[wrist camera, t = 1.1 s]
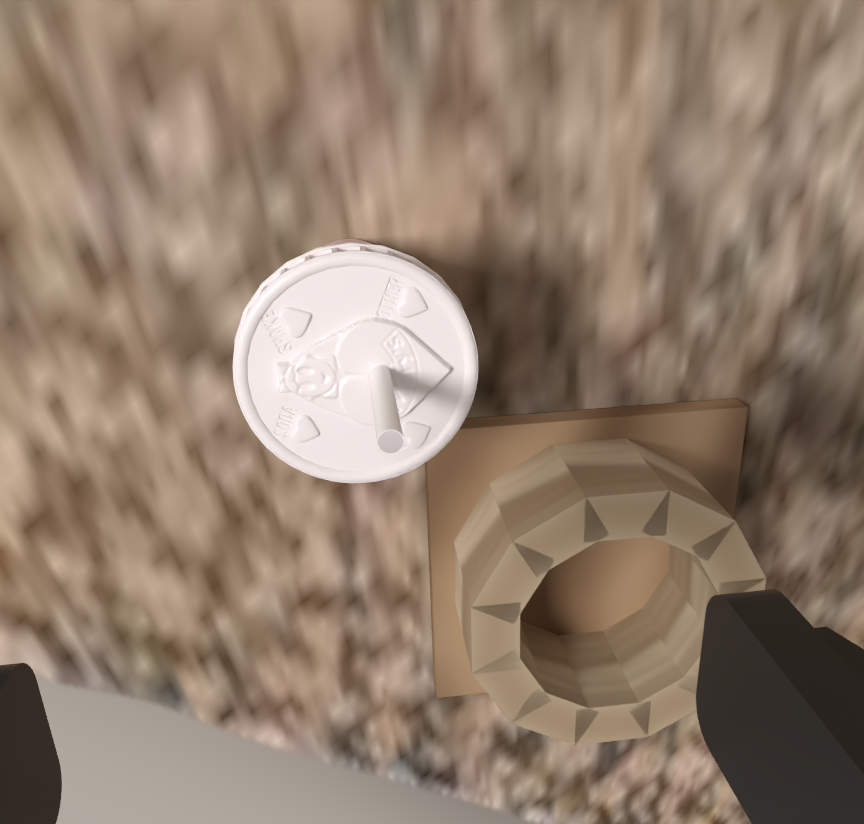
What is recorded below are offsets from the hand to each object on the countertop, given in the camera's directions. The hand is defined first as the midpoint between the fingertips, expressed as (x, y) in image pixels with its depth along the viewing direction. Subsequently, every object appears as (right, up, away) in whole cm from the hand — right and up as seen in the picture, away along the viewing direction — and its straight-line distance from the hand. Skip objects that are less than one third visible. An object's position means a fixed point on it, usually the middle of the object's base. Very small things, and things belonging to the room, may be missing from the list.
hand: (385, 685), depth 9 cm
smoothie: (-2, +8, +20) cm, 21 cm away
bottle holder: (+7, -3, +25) cm, 26 cm away
